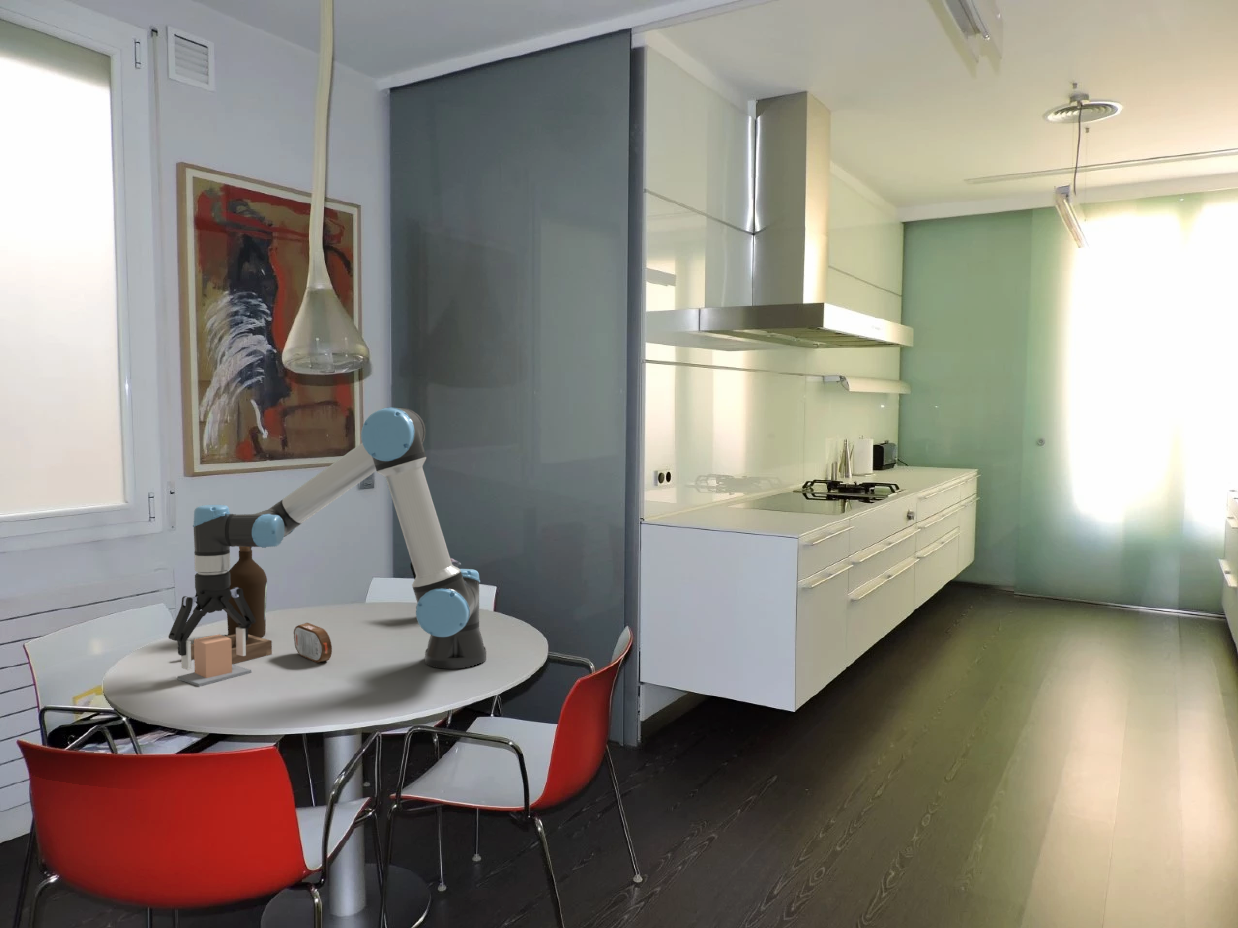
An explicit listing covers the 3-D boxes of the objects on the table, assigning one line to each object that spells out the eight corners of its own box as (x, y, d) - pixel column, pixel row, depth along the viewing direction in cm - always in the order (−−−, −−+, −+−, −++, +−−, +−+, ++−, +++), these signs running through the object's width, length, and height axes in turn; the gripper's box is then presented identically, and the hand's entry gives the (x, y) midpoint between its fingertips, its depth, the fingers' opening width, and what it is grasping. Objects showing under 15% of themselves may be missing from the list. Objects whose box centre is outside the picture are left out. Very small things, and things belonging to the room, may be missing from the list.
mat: (251, 672, 210) (251, 669, 210) (199, 686, 199) (199, 683, 199) (229, 665, 215) (229, 663, 215) (177, 679, 204) (177, 676, 204)
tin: (333, 663, 217) (332, 630, 217) (321, 666, 215) (320, 632, 215) (303, 651, 228) (302, 619, 227) (291, 654, 225) (291, 621, 225)
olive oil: (234, 643, 234) (232, 550, 233) (219, 635, 242) (218, 545, 240) (274, 636, 242) (272, 546, 240) (259, 629, 249) (257, 541, 248)
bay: (271, 654, 225) (271, 640, 225) (214, 668, 212) (214, 654, 212) (241, 645, 232) (241, 632, 232) (184, 659, 219) (184, 645, 219)
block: (232, 672, 207) (231, 638, 207) (206, 678, 203) (205, 643, 202) (220, 667, 211) (219, 634, 211) (194, 672, 207) (194, 639, 206)
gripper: (251, 562, 218) (253, 647, 219) (150, 578, 197) (152, 671, 198) (270, 565, 213) (271, 652, 215) (168, 582, 193) (170, 677, 194)
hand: (214, 661), depth 207 cm, fingers open, 13 cm apart
